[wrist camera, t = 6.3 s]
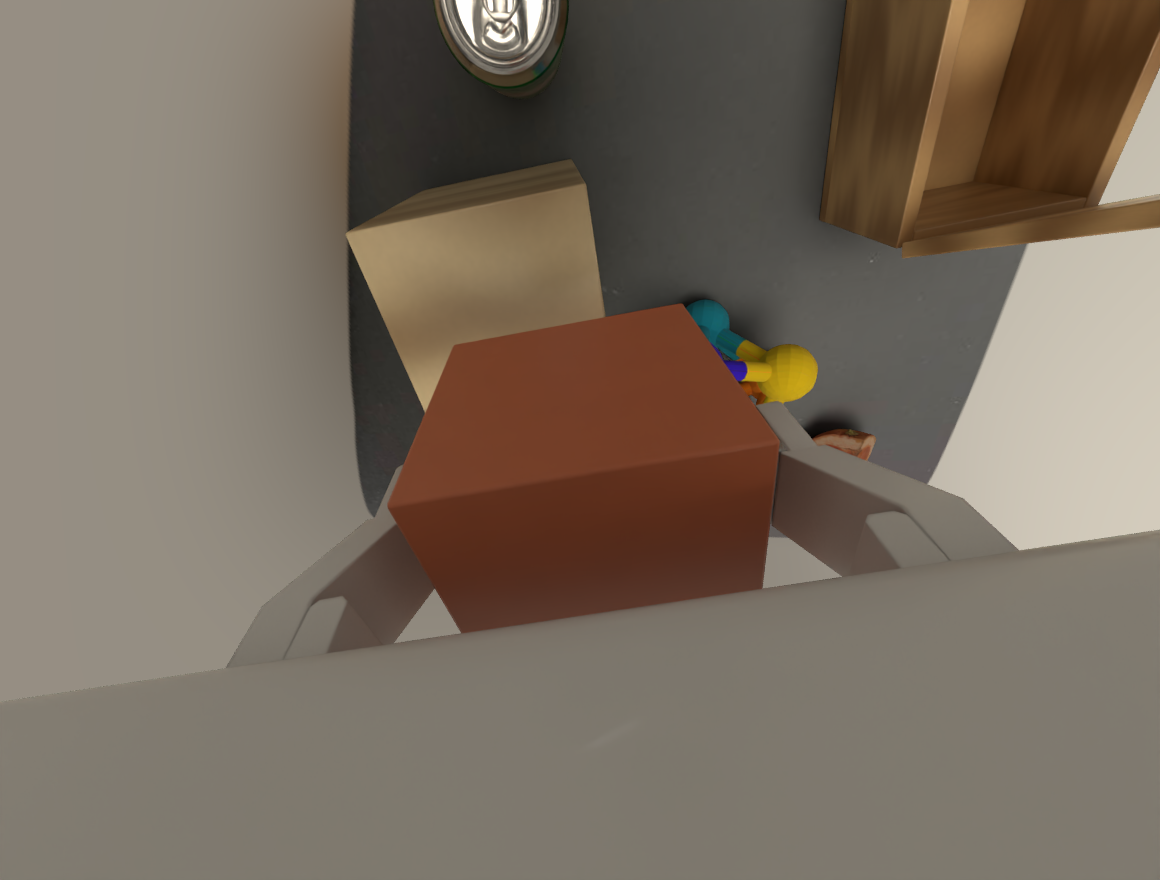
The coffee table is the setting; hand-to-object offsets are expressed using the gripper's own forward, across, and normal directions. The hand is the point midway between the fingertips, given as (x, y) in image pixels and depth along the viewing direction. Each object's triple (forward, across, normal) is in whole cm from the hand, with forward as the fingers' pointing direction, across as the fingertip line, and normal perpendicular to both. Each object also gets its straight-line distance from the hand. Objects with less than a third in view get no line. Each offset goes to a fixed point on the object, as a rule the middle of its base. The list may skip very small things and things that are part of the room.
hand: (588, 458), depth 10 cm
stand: (+27, +4, +1) cm, 27 cm away
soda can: (+27, +1, -10) cm, 28 cm away
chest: (+27, -23, -4) cm, 36 cm away
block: (+2, 0, 0) cm, 2 cm away
